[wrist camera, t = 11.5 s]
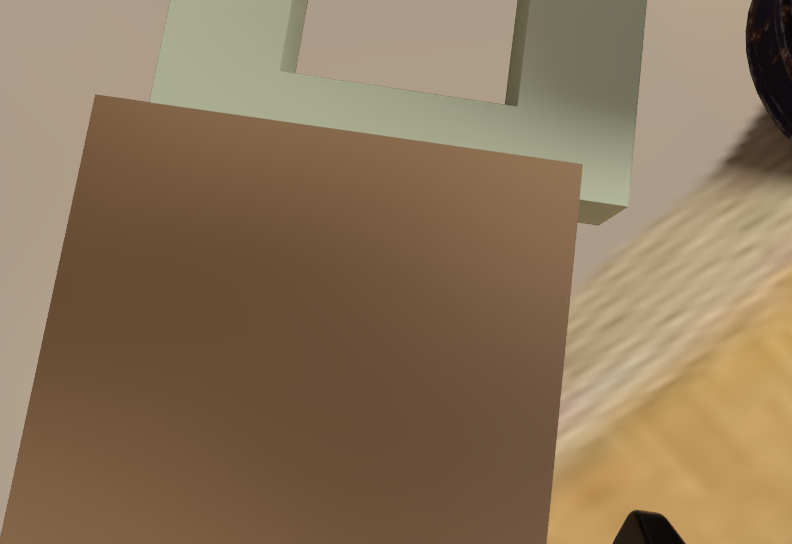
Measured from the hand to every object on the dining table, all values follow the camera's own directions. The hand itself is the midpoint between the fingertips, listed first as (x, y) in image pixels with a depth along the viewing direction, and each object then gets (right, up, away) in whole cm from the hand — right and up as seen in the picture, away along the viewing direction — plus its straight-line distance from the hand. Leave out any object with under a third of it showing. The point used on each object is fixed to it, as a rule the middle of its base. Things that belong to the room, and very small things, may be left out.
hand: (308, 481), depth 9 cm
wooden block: (0, 0, +11) cm, 11 cm away
